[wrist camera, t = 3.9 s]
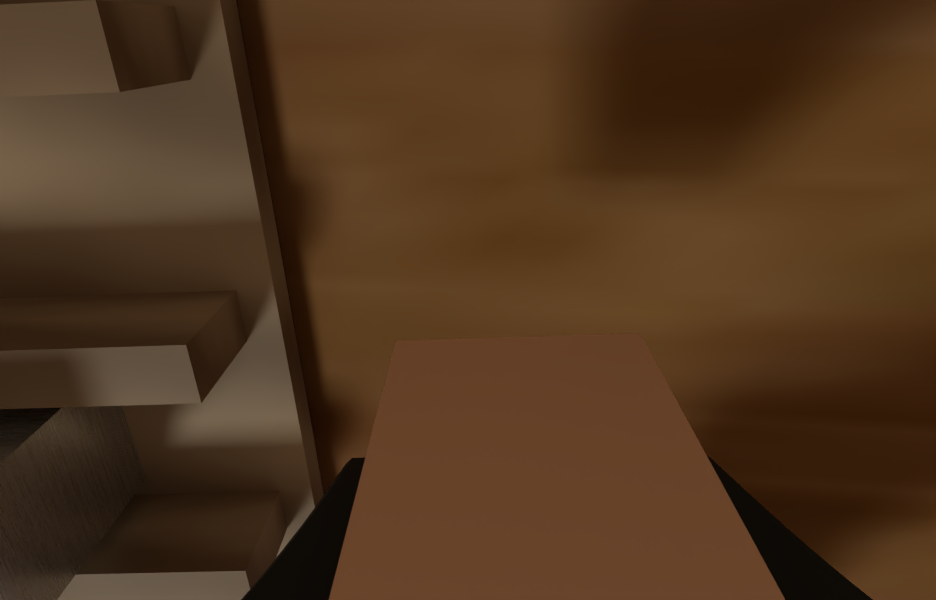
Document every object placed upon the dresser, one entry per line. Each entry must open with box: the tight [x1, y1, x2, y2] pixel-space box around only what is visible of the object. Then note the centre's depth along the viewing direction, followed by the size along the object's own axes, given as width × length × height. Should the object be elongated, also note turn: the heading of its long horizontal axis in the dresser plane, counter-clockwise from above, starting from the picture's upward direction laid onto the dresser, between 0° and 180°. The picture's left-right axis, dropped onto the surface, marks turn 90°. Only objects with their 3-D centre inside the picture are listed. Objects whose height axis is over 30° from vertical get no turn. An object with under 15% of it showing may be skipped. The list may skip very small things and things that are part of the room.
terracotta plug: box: [329, 333, 785, 600], centre depth 8 cm, size 4×4×6 cm
